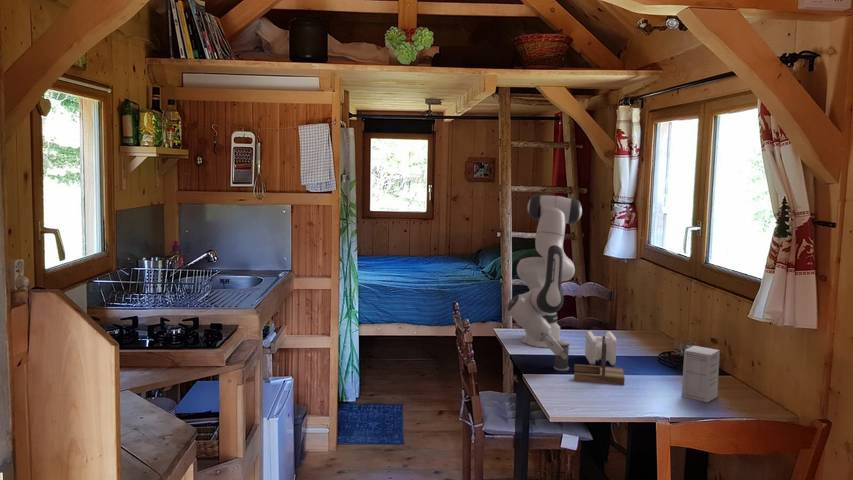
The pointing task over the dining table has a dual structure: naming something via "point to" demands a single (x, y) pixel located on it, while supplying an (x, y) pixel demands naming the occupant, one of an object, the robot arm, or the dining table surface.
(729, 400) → the dining table surface
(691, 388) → the supplement box
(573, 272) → the robot arm
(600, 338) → the cable organizer
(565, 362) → the grey mushroom bollard
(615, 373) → the wooden frame
